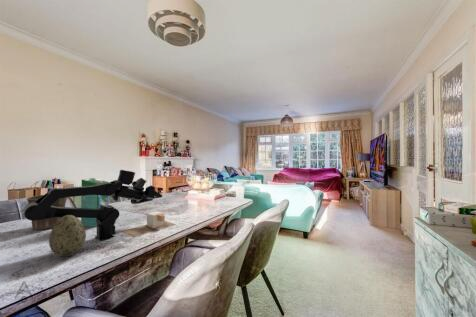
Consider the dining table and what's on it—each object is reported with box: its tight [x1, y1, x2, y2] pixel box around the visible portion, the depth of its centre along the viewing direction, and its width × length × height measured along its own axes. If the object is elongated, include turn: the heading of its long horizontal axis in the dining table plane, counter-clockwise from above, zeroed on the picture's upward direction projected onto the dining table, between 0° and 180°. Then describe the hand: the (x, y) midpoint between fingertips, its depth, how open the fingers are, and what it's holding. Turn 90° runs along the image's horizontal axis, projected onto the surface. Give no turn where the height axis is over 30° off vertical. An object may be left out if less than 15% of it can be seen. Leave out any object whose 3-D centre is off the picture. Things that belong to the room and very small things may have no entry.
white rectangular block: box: [146, 211, 166, 228], centre depth 112 cm, size 11×6×6 cm, turn 53°
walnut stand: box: [121, 220, 177, 238], centre depth 109 cm, size 23×12×5 cm, turn 143°
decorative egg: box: [48, 215, 87, 257], centre depth 80 cm, size 11×11×15 cm
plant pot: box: [26, 194, 68, 231], centre depth 112 cm, size 16×16×16 cm
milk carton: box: [80, 177, 110, 228], centre depth 117 cm, size 9×9×25 cm
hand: (157, 197), depth 116 cm, fingers open, 9 cm apart
